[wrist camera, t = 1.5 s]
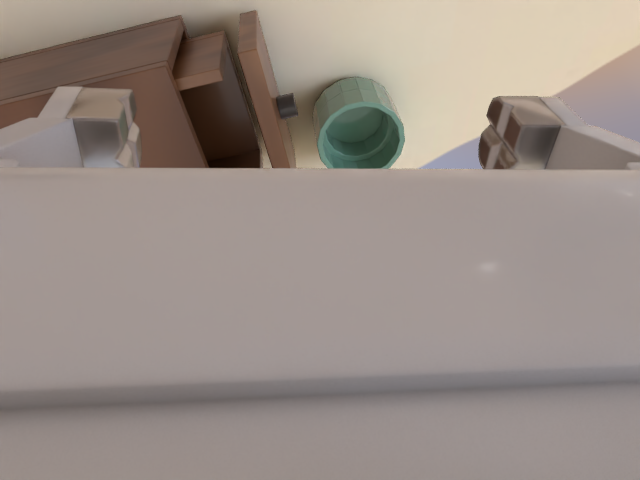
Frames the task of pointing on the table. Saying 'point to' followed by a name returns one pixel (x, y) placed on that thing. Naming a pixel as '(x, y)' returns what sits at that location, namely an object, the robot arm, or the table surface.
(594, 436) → the robot arm
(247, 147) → the drawer
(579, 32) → the table surface
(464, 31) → the table surface
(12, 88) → the cabinet
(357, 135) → the cylindrical container
